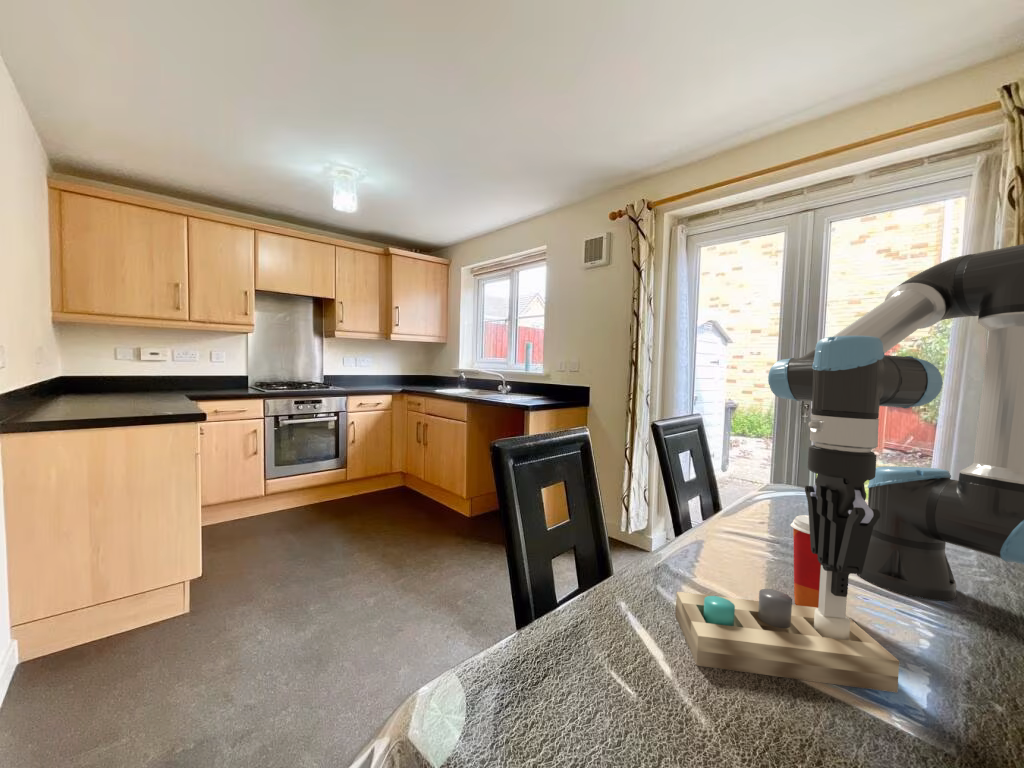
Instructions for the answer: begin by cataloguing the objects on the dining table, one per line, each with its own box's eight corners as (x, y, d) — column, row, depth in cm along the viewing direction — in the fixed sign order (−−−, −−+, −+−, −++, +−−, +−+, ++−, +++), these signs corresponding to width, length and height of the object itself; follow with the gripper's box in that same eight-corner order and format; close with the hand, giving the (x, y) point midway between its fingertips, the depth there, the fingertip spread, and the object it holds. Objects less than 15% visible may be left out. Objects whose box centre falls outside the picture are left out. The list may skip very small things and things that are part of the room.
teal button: (727, 620, 64) (729, 597, 64) (737, 636, 60) (739, 611, 60) (699, 617, 64) (700, 594, 64) (707, 632, 60) (709, 608, 60)
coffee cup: (834, 601, 76) (839, 518, 76) (854, 626, 68) (859, 533, 68) (780, 592, 79) (784, 511, 78) (793, 614, 71) (798, 525, 71)
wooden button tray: (838, 635, 65) (840, 610, 65) (897, 692, 53) (899, 661, 53) (675, 616, 69) (676, 591, 69) (696, 665, 57) (698, 635, 57)
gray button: (782, 614, 63) (783, 590, 63) (796, 629, 59) (797, 604, 59) (753, 610, 63) (754, 587, 63) (765, 626, 59) (766, 601, 59)
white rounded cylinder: (837, 633, 62) (838, 609, 62) (855, 651, 58) (857, 625, 58) (807, 630, 62) (808, 606, 62) (823, 647, 58) (824, 621, 58)
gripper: (789, 439, 67) (780, 588, 67) (841, 452, 54) (830, 638, 54) (842, 442, 65) (832, 594, 66) (907, 457, 53) (896, 646, 53)
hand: (831, 614), depth 60 cm, fingers closed
